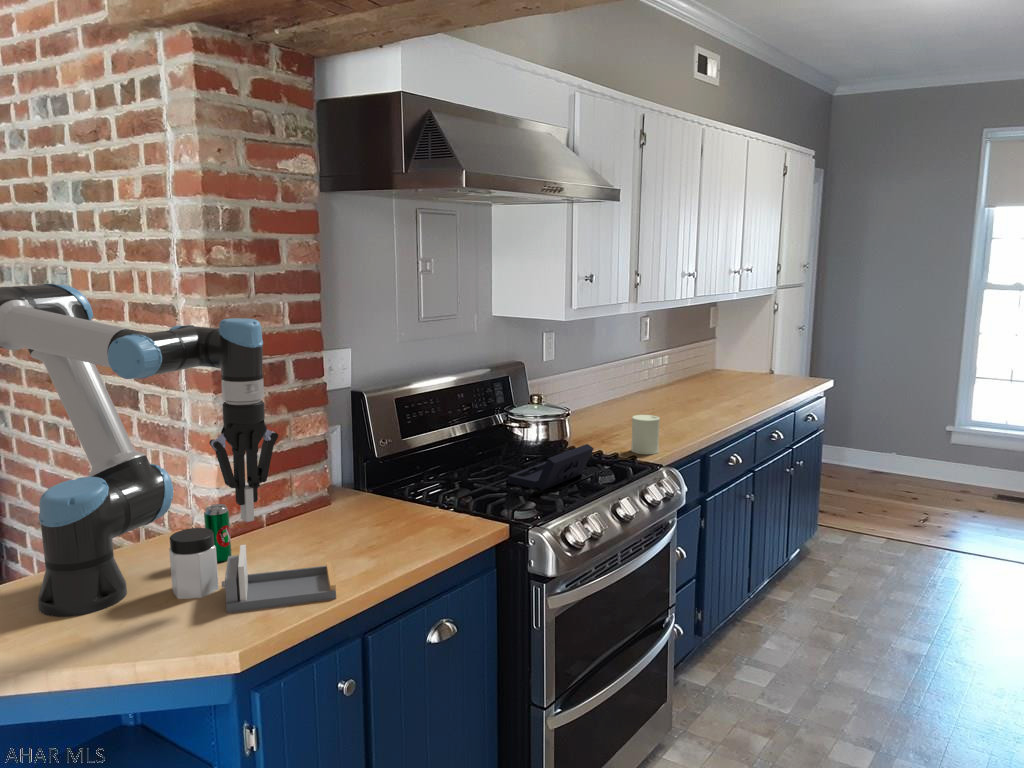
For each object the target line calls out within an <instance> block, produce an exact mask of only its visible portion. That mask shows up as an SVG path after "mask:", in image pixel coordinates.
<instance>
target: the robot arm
mask: <svg viewBox="0 0 1024 768" xmlns="http://www.w3.org/2000/svg"><path fill="white" fill-rule="evenodd" d="M93 318H94V313H93V308H92V305H91V303H90V302H89V300H88V299H87V297H86V296H85V294H83V293H82V292H81V291H80V290H78V289H77V288H75V287H73V286H71V285H67V284H56V283H43V284H38V285H37V284H35V285H33V284H32V285H18V286H17V285H15V286H13V285H12V286H0V348H1V349H4V350H8V351H18V350H19V351H20V350H22V349H27V350H28V353H29V355H30V357H31V358H32V359H34V360H38V361H41V362H42V363H43V365H44V367H45V369H46V370H47V371H46V372H47V373H48V376H49V377H50V380H51V381H52V382H51V383H52V384H53V386H54V389H55V390H56V393H57V396H58V397H59V399H60V401H61V403H62V405H63V408H64V410H65V412H66V414H67V416H68V419H69V420H70V423H71V425H72V427H73V429H74V432H75V433H76V436H77V438H78V441H79V442H80V444H81V446H82V450H83V451H84V453H85V455H86V458H87V460H88V462H89V464H90V466H91V470H90V472H89V474H88V476H83V477H77V478H76V479H68V480H65V481H62V482H60V483H58V484H55V485H53V486H51V487H49V488H48V489H46V490H45V491H44V492H43V493H42V495H41V496H40V498H39V505H38V507H39V514H38V521H39V522H40V528H41V529H40V530H41V538H42V546H43V547H42V548H43V556H44V564H45V568H44V569H45V571H44V575H43V579H42V583H41V587H40V590H39V593H38V599H37V600H38V601H37V602H38V611H39V613H41V614H42V615H44V616H48V617H54V618H70V617H78V616H79V617H80V616H85V615H89V614H93V613H97V612H100V611H103V610H106V609H108V608H111V607H113V606H115V605H117V604H118V603H120V602H121V601H123V599H125V598H126V596H127V595H128V588H127V581H126V579H125V578H124V575H123V573H122V571H121V569H120V567H119V565H118V563H117V562H116V559H115V555H114V545H113V539H114V538H117V537H120V536H122V535H124V534H126V533H129V532H132V531H134V530H136V529H138V528H141V527H143V526H147V525H149V524H152V523H153V522H155V520H158V519H160V518H161V517H163V516H165V514H167V512H168V511H169V509H170V508H171V505H172V501H173V500H174V484H173V481H172V478H171V476H170V474H169V473H168V472H167V470H165V468H161V466H160V465H158V464H155V463H154V464H153V463H150V461H149V458H148V457H147V455H146V454H145V453H143V452H140V451H137V450H136V449H135V447H134V446H133V443H132V441H131V439H130V436H129V435H128V433H127V430H126V427H125V426H124V424H123V421H122V420H121V417H120V415H119V413H118V411H117V409H116V407H115V405H114V402H113V400H112V398H111V396H110V394H109V392H108V390H107V387H106V385H105V383H104V381H103V378H102V377H101V374H100V372H99V370H98V368H97V366H101V367H106V368H109V369H111V370H112V371H113V373H115V374H116V375H117V377H120V378H122V379H124V380H125V379H126V380H134V379H140V380H142V379H146V378H150V377H152V376H156V375H157V376H159V375H162V374H166V373H167V374H168V373H171V372H178V371H181V370H187V369H192V368H196V367H206V368H217V369H220V375H221V376H220V377H221V399H222V400H223V401H224V402H223V403H222V421H223V427H222V429H221V431H220V433H221V434H220V435H219V436H218V437H216V438H215V439H213V438H212V439H210V440H209V443H208V444H209V445H210V446H211V447H212V449H213V450H214V452H215V454H216V458H217V461H218V466H219V467H220V471H221V474H222V478H223V482H224V485H226V486H228V487H229V488H230V489H235V502H236V504H237V505H239V506H240V519H241V520H243V521H245V522H246V523H248V522H249V523H250V522H253V521H255V508H254V507H255V506H254V505H255V503H258V500H259V498H258V497H259V496H258V495H259V494H258V489H259V488H260V486H261V484H262V483H266V482H267V481H268V476H269V471H270V466H271V461H272V456H273V451H274V446H275V444H276V442H277V441H278V438H279V434H278V433H277V432H275V431H273V430H269V429H268V427H267V426H268V425H267V424H266V423H265V418H266V417H265V416H266V414H265V402H264V401H263V400H262V399H263V398H265V391H264V386H265V385H264V372H263V371H264V370H263V369H264V366H263V363H264V361H263V359H264V357H263V355H264V353H263V352H264V351H263V350H264V349H263V347H264V340H263V332H262V325H261V323H260V321H259V320H257V319H255V318H245V317H244V318H242V317H239V318H237V317H234V318H224V319H222V320H220V321H219V324H218V325H219V327H218V328H217V327H216V328H215V327H205V326H195V325H194V324H193V325H192V324H188V325H187V324H186V325H174V326H172V327H171V328H169V330H161V331H154V332H146V331H145V332H144V331H141V330H140V331H139V330H136V329H130V328H127V327H121V326H118V325H117V326H116V325H112V324H107V323H103V322H99V321H94V320H92V319H93ZM96 365H97V366H96ZM262 439H263V441H262ZM261 441H262V444H261V448H260V454H259V460H258V453H259V444H260V442H261ZM226 442H227V443H228V444H229V445H230V446H231V451H232V452H231V453H232V459H233V460H232V461H233V465H231V463H230V459H229V455H228V453H227V450H226V449H225V448H226V445H227V444H226ZM245 456H246V457H245ZM245 458H246V463H245ZM232 466H233V469H232ZM245 467H246V468H245ZM245 472H246V473H245ZM246 483H247V484H246Z"/></svg>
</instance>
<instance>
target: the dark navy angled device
mask: <svg viewBox="0 0 1024 768" xmlns="http://www.w3.org/2000/svg"><path fill="white" fill-rule="evenodd" d="M593 451H594V447H593V446H591V445H590V444H589V443H586V444H583V445H581V446H578V447H576V448H573V449H567V450H565V451H562V452H561V453H559V454H556V455H553V456H550V457H548V458H547V459H546V461H544V462H541V463H537V464H536V465H533V466H530V467H528V468H526V469H522V470H520V471H517V472H515V473H512V474H508V475H507V484H509V485H514V486H519V487H524V488H528V489H533V490H536V489H538V490H540V491H545V490H547V489H549V488H550V489H551V488H552V487H555V486H557V485H559V484H562V483H564V482H566V481H568V480H571V479H574V478H576V477H578V476H581V475H582V474H583V473H584V471H585V469H586V467H587V466H586V465H587V464H588V461H589V460H590V457H591V455H592V453H593Z"/></svg>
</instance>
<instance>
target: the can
mask: <svg viewBox="0 0 1024 768" xmlns="http://www.w3.org/2000/svg"><path fill="white" fill-rule="evenodd" d="M660 421H661V419H660V416H657V415H653V414H652V415H651V414H637V415H632V417H631V425H632V426H631V449H630V452H632V453H633V454H638V455H648V456H649V455H656V454H658V453H659V452H660V450H659V449H660V448H659V446H660V443H659V442H660V439H659V437H660Z"/></svg>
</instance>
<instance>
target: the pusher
mask: <svg viewBox="0 0 1024 768" xmlns="http://www.w3.org/2000/svg"><path fill="white" fill-rule="evenodd" d="M247 559H248V558H247V545H246V544H240V545H239V564H238V572H239V580H238V586H239V588H240V601H247V590H248V560H247ZM221 588H222V589H223V588H224V589H225V580H222V581H221Z"/></svg>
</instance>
